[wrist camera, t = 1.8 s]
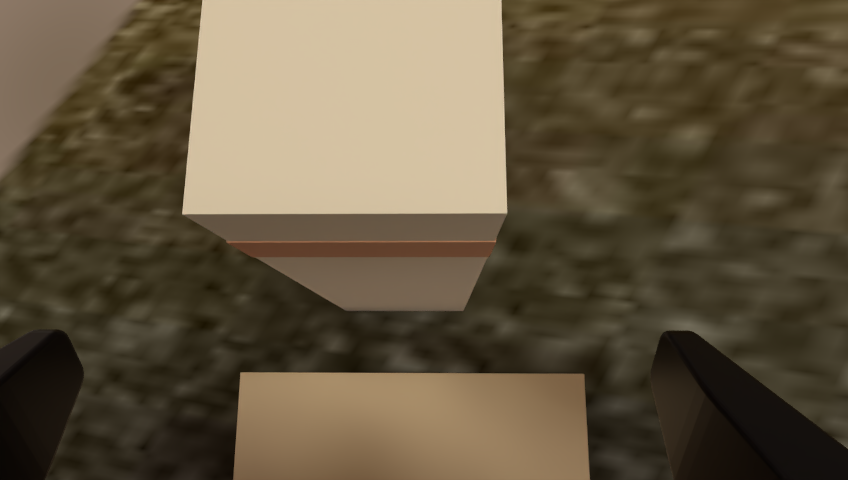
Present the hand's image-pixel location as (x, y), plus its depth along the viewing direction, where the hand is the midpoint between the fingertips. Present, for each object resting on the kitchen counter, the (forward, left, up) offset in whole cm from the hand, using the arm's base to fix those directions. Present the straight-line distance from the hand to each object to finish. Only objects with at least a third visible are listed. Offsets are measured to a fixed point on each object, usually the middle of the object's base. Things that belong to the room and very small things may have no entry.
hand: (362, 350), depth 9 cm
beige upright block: (+4, +2, -11) cm, 12 cm away
